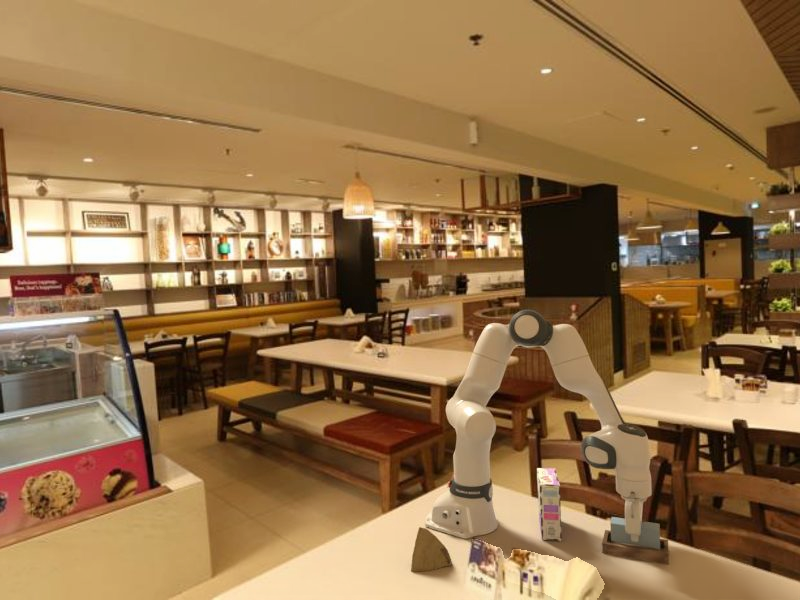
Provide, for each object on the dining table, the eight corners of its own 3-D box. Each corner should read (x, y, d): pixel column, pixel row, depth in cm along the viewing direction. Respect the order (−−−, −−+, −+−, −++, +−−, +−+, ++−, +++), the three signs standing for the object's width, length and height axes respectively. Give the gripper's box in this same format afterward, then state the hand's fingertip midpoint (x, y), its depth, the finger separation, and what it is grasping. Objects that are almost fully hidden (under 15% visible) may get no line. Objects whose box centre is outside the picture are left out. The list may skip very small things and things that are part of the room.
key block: (660, 549, 137) (659, 530, 137) (611, 540, 143) (610, 523, 143) (660, 541, 141) (659, 523, 141) (612, 534, 146) (611, 516, 146)
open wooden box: (602, 552, 142) (601, 537, 142) (605, 538, 149) (604, 524, 149) (668, 564, 135) (668, 548, 134) (668, 549, 142) (667, 534, 142)
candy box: (562, 541, 149) (560, 485, 148) (541, 540, 150) (539, 484, 149) (558, 519, 162) (555, 467, 161) (538, 518, 163) (536, 466, 163)
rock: (458, 549, 143) (424, 538, 148) (454, 534, 138) (419, 523, 142) (445, 589, 136) (410, 576, 140) (440, 575, 131) (404, 562, 135)
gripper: (645, 503, 130) (647, 557, 131) (647, 473, 149) (648, 520, 149) (618, 499, 133) (620, 552, 134) (623, 471, 152) (624, 517, 152)
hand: (635, 535), depth 142 cm, fingers closed on key block, 4 cm apart
